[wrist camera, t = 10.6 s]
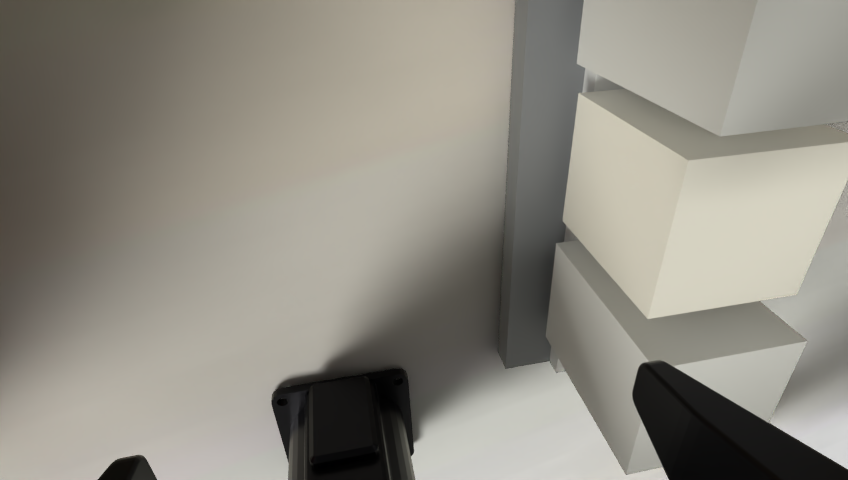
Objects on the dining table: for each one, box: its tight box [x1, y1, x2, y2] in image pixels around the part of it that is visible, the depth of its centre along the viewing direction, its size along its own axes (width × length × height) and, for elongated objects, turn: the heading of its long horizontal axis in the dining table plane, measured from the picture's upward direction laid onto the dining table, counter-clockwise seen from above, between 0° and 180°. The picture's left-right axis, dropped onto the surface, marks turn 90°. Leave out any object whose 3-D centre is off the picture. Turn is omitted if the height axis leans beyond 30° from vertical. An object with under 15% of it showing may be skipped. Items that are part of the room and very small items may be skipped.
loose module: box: [562, 89, 848, 319], centre depth 17 cm, size 5×5×6 cm
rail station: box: [498, 0, 848, 475], centre depth 17 cm, size 22×8×9 cm, turn 2°
